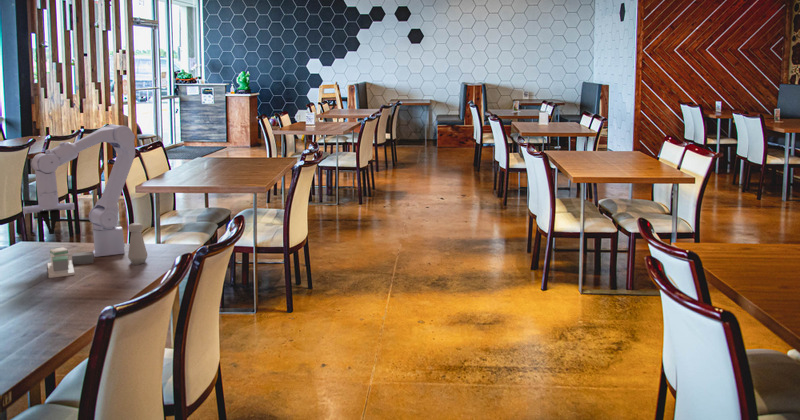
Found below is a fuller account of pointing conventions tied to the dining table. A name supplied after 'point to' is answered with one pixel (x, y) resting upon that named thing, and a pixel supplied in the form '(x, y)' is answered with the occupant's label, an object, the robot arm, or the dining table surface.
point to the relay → (82, 258)
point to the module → (58, 253)
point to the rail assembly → (60, 267)
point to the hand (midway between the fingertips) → (51, 233)
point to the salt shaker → (136, 244)
